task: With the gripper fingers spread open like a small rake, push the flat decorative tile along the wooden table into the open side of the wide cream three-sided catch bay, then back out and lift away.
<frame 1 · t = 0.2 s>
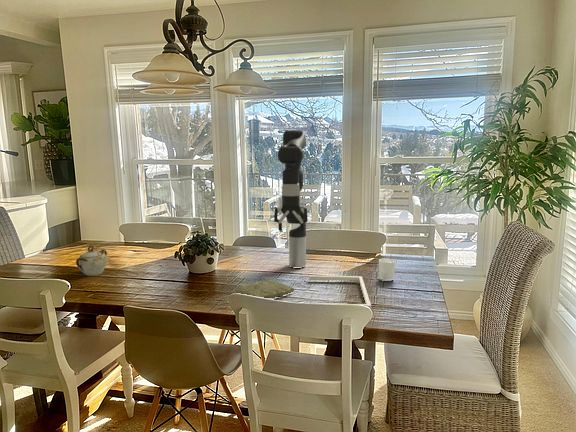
hand: (290, 231, 178), 29 cm above the table, tool pointing down, fingers open, 8 cm apart
white cup: (386, 280, 204), on the table
catch bay: (335, 295, 183), on the table
decorative tile: (265, 295, 186), on the table
sugar bowl: (93, 273, 216), on the table
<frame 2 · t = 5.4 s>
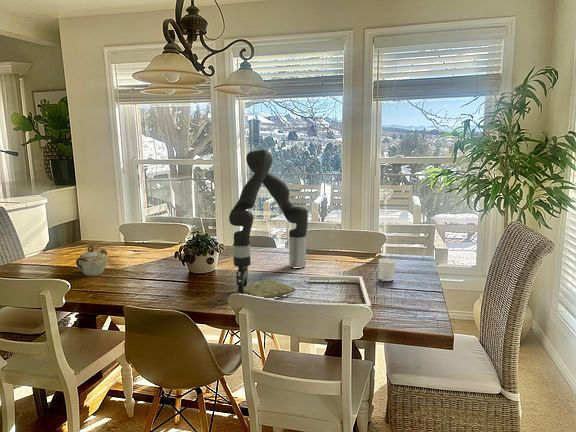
hand: (242, 289, 186), 2 cm above the table, tool pointing down, fingers open, 8 cm apart
decorative tile: (266, 295, 186), on the table, touching gripper
everything else where it was.
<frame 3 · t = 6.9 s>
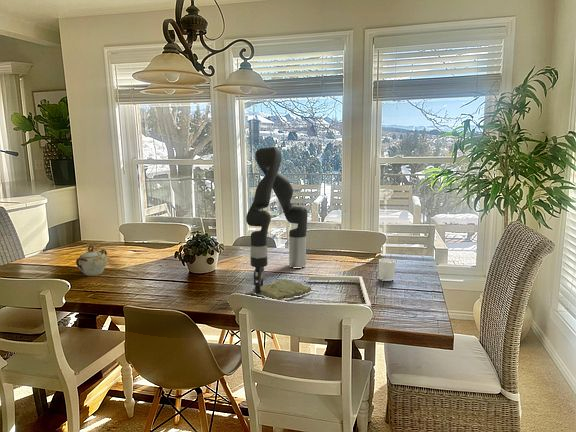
hand: (259, 289, 185), 2 cm above the table, tool pointing down
decorative tile: (283, 294, 186), on the table, touching gripper
everything else where it was.
when the fingers open (2 cm above the table, at t = 8.0 s): decorative tile moves 3 cm, on the table.
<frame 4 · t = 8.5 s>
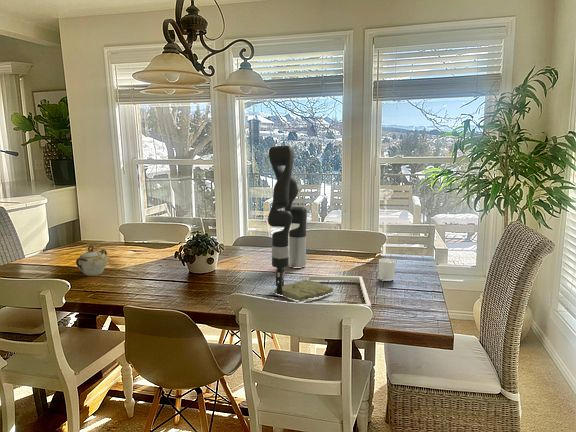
hand: (280, 290, 185), 2 cm above the table, tool pointing down, fingers open, 8 cm apart
decorative tile: (304, 295, 185), on the table
everything else where it was.
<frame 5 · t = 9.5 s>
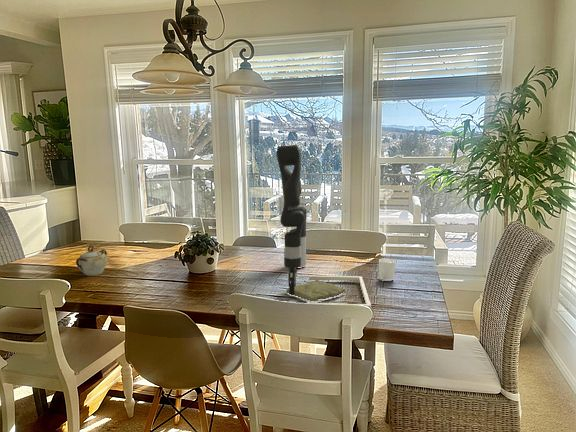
hand: (292, 290, 184), 2 cm above the table, tool pointing down, fingers open, 8 cm apart
decorative tile: (316, 295, 184), on the table, touching gripper
everything else where it was.
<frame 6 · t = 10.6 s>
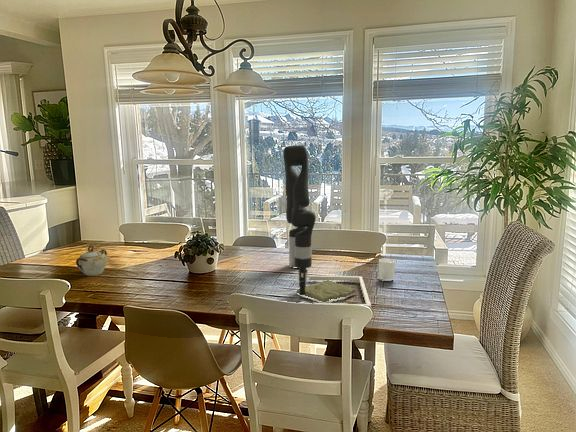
hand: (302, 291, 184), 2 cm above the table, tool pointing down, fingers open, 8 cm apart
decorative tile: (326, 296, 184), on the table, touching gripper
everything else where it was.
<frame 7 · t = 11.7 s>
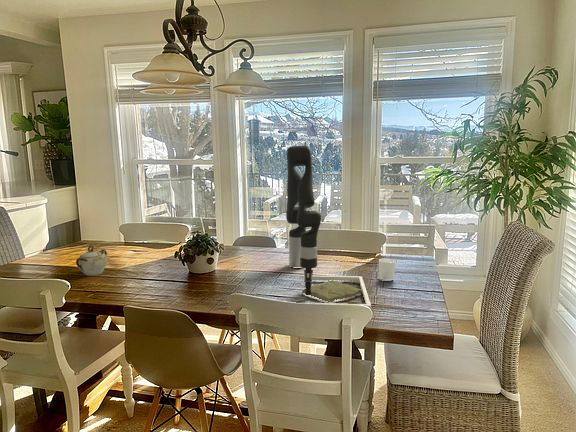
hand: (308, 291, 184), 2 cm above the table, tool pointing down, fingers open, 8 cm apart
decorative tile: (332, 296, 184), on the table, touching gripper
everything else where it was.
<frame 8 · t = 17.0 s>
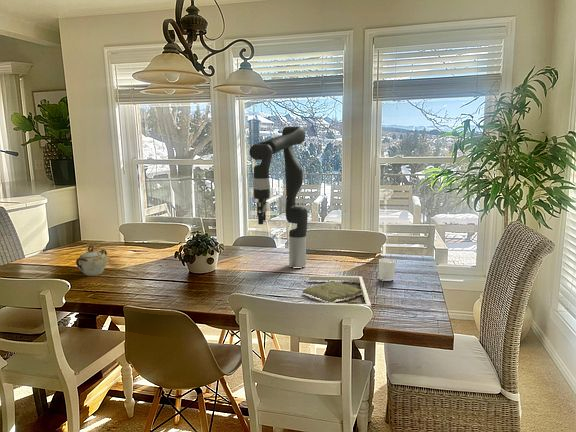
hand: (262, 222, 193), 30 cm above the table, tool pointing down, fingers open, 8 cm apart
decorative tile: (333, 296, 184), on the table
everything else where it was.
at the end: decorative tile inside the target area (0.6 cm from its centre), on the table; decorative tile moved 30.1 cm from its start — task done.
